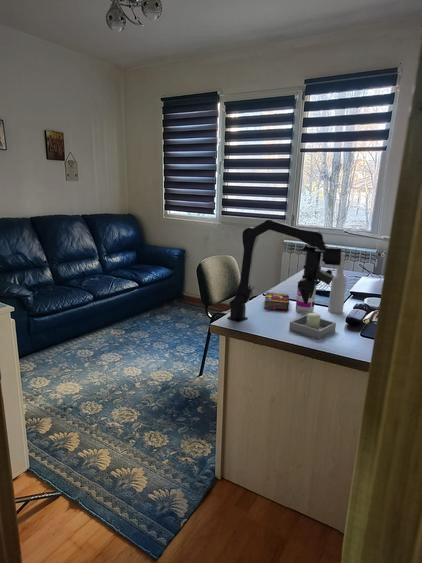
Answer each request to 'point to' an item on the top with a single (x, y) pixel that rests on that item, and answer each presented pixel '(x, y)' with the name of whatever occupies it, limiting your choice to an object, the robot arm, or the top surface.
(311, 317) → the cream yellow cylinder
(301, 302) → the supplement can
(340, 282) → the bottle
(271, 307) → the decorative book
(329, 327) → the bin
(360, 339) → the top surface
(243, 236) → the robot arm
